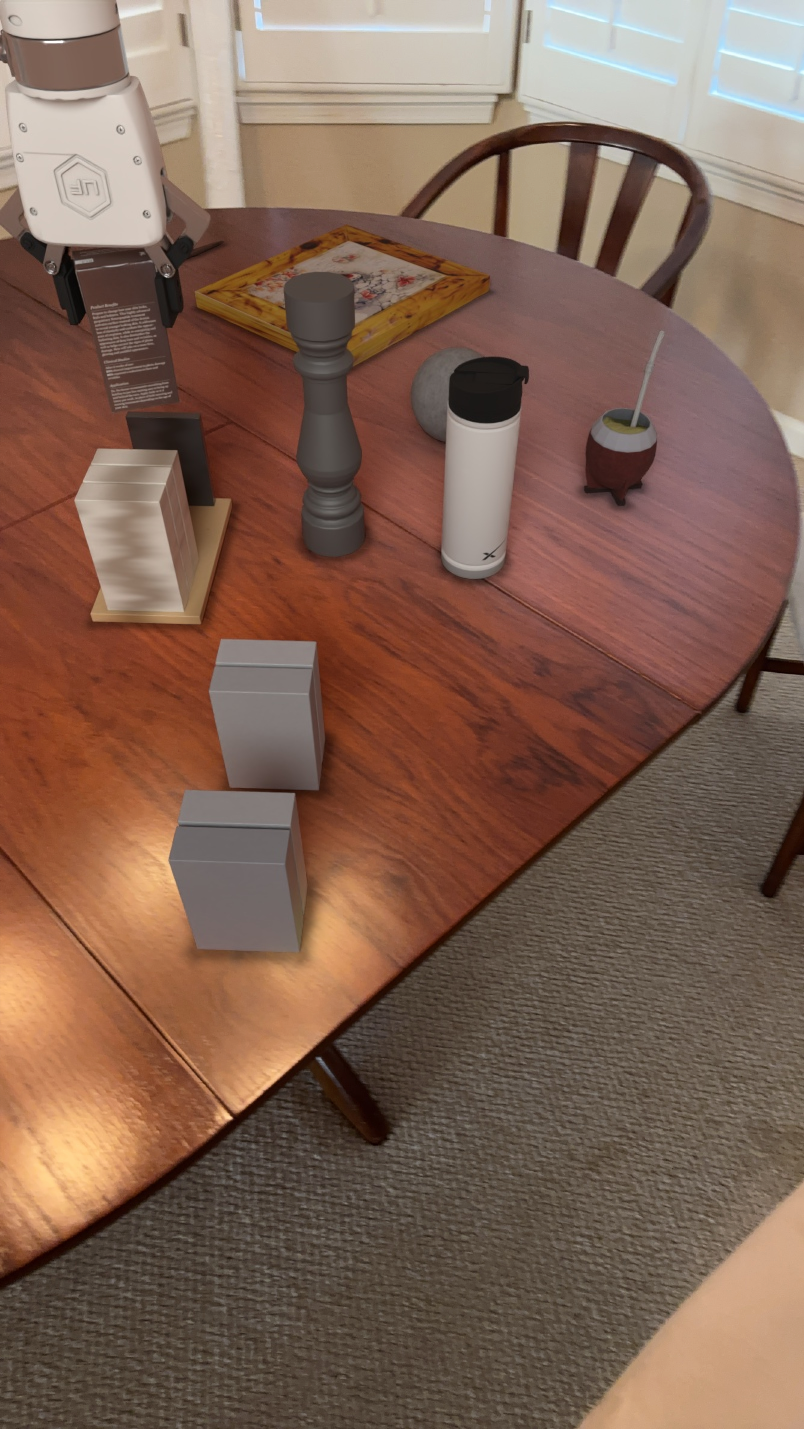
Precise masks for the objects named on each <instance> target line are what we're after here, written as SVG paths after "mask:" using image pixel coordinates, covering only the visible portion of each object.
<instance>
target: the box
mask: <svg viewBox="0 0 804 1429" xmlns="http://www.w3.org/2000/svg"><path fill="white" fill-rule="evenodd" d="M71 255H72V259H73V261H74V266H75V272H76V276H77V280H78V283H79V287H80V291H81V295H82V299H83V302H84V306H85V310H86V314H85V315H86V317H87V321H88V326H89V330H90V332H91V337H92V340H93V344H94V347H95V353H96V356H97V359H98V364H99V367H100V372H101V377H102V380H103V384H104V388H105V391H106V397H107V400H108V404H109V407H110V408H109V409H110V411H111V413H112V414H118V413H122V412H123V413H124V412H128V411H136V410H140V409H146V408H153V407H159V406H164V405H165V406H167V405H172V404H180V403H181V400H180V395H179V389H178V383H177V377H176V372H175V366H174V361H173V356H172V350H171V344H170V340H169V336H168V328H165V326H163V325H162V320H161V315H160V310H159V304H158V299H157V294H156V288H155V283H154V279H155V277H156V275H157V272H156V269H155V265H154V263H153V262H152V260H151V259H150V257H149V256H148V254H147V253H146V251H145V250H144V248H112V247H93V248H87V249H79V250H78V249H77V250H72V251H71Z"/></svg>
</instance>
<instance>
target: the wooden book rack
mask: <svg viewBox="0 0 804 1429" xmlns="http://www.w3.org/2000/svg"><path fill="white" fill-rule="evenodd" d="M125 421H126V426H127V429H128V433H129V438H130V442H131V446H132V449H131V448H96V451H95V454H94V456H93V458H92V460H91V463H90V465H89V466H88V469H87V471H86V473H85V475H84V477H83V480H82V483H81V485H80V486H79V488H78V491H77V493H76V494H75V498H74V500H73V501H74V505H75V507H76V510H77V513H78V518H79V520H80V524H81V526H82V530H83V533H84V534H83V535H84V537H85V540H86V543H87V546H88V549H89V553H90V556H91V559H92V563H93V566H94V569H95V573H96V576H97V579H98V582H99V585H100V588H99V590H98V593H97V595H96V598H95V601H94V603H93V605H92V608H91V610H90V617H91V620H92V622H94V623H97V622H98V623H99V622H100V623H135V624H138V623H139V624H140V623H141V624H170V625H171V624H172V625H202V623H203V619H204V616H205V612H206V608H207V604H208V602H209V596H210V593H211V589H212V584H213V582H214V577H215V574H216V570H217V567H218V566H217V565H218V562H219V558H220V554H221V551H222V547H223V544H224V539H225V535H226V532H227V528H228V525H229V522H230V517H231V512H232V509H233V502H232V501H233V500H232V498H228V497H227V498H226V497H225V498H224V497H222V498H219V497H216V493H215V488H214V487H215V486H214V482H213V475H212V470H211V464H210V458H209V452H208V447H207V442H206V435H205V429H204V424H203V418H202V413H201V412H184V411H183V412H182V411H181V412H180V411H140V410H138V411H136V410H129V411H126V414H125Z"/></svg>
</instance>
